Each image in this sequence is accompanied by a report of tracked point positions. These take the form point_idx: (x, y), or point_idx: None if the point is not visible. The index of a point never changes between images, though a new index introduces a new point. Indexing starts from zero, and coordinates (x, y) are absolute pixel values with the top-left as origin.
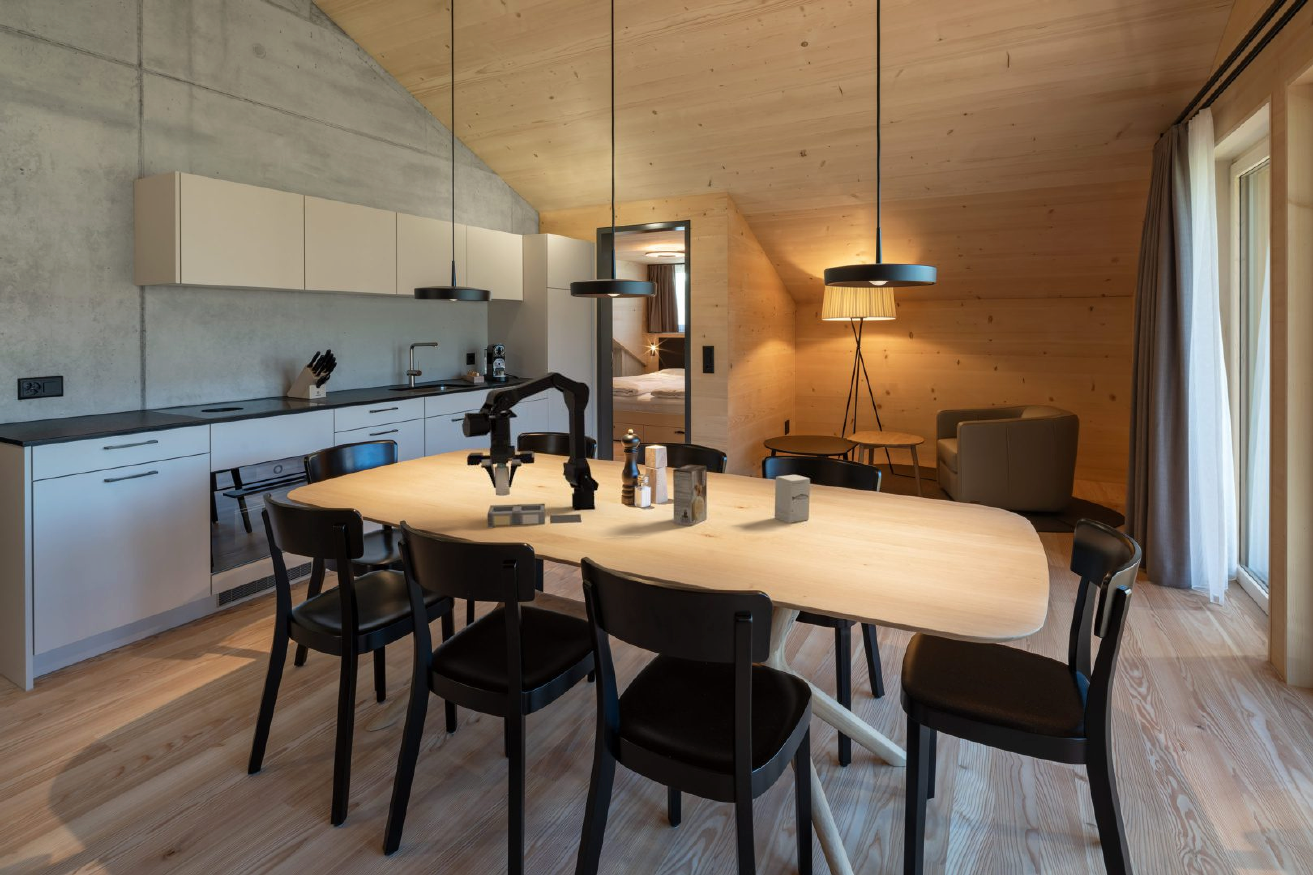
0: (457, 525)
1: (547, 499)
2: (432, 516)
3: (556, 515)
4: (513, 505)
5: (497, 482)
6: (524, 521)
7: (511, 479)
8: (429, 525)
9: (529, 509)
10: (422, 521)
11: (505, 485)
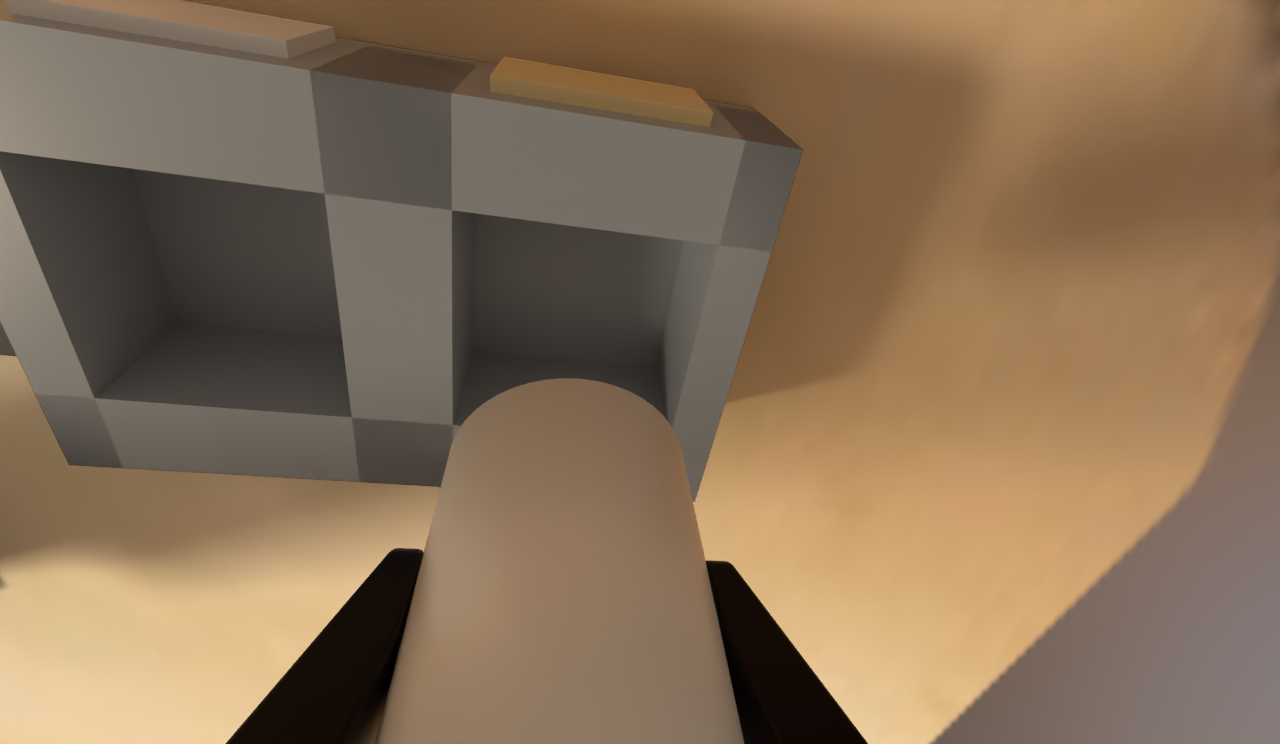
0: (992, 282)
1: None
2: (1042, 540)
3: (10, 343)
4: None
5: (692, 620)
6: (297, 28)
7: (295, 708)
8: (1180, 341)
9: (270, 381)
10: (1159, 451)
11: (495, 535)
